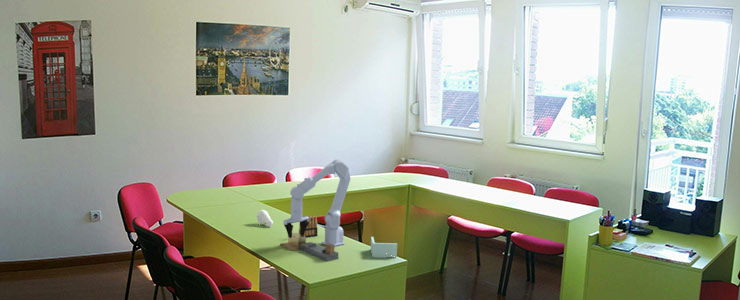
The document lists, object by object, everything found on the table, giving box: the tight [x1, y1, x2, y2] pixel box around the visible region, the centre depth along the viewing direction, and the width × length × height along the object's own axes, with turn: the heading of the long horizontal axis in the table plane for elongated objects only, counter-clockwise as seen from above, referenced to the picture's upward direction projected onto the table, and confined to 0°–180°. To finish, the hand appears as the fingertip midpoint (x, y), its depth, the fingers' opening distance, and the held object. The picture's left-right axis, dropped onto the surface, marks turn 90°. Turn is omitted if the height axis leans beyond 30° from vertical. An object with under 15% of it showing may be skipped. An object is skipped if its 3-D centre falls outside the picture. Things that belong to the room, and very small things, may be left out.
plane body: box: [299, 241, 339, 262], centre depth 277 cm, size 7×22×7 cm, turn 42°
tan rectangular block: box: [287, 232, 307, 248], centre depth 289 cm, size 4×9×5 cm, turn 43°
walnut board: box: [279, 241, 300, 251], centre depth 290 cm, size 12×11×1 cm
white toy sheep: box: [256, 209, 274, 228], centre depth 327 cm, size 6×8×12 cm
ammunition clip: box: [298, 214, 318, 239], centre depth 306 cm, size 11×2×12 cm, turn 122°
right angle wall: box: [370, 236, 398, 259], centre depth 282 cm, size 12×12×8 cm
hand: (296, 236), depth 289 cm, fingers open, 7 cm apart
